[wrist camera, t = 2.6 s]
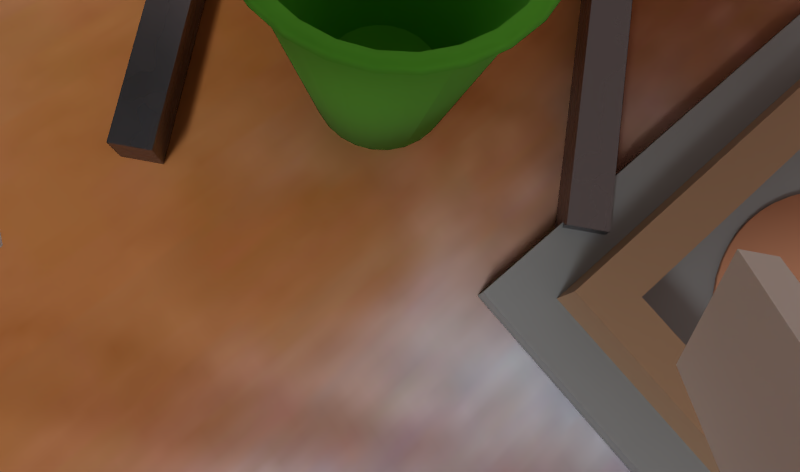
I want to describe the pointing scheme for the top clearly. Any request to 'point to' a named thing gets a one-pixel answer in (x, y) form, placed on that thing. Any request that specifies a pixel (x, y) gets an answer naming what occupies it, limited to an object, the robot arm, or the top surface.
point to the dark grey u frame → (586, 127)
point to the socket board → (666, 294)
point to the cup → (394, 57)
